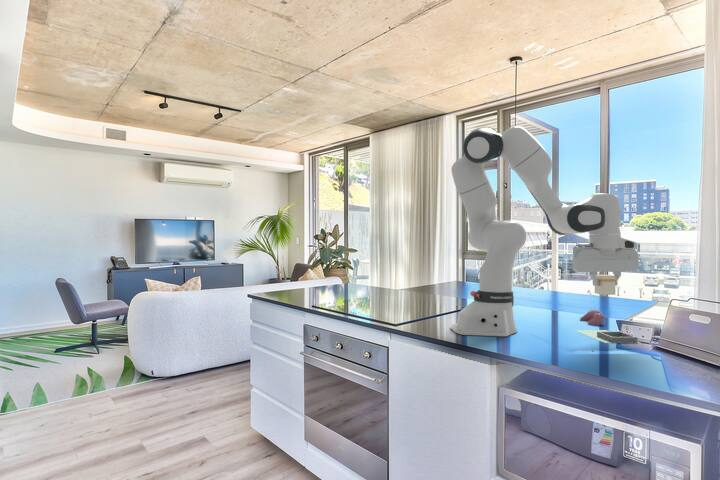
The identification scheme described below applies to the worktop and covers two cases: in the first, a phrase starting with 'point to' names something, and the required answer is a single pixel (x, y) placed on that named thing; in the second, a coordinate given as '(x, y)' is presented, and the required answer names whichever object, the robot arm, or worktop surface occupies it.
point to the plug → (605, 285)
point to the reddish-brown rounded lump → (593, 317)
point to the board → (610, 336)
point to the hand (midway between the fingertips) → (605, 285)
